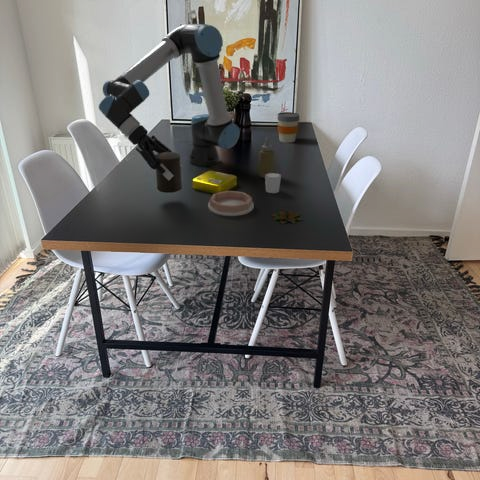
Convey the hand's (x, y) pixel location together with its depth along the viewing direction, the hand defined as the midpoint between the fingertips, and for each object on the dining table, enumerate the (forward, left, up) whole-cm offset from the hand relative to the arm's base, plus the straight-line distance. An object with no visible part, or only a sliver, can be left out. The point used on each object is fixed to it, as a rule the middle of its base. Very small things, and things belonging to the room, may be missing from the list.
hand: (176, 173), depth 179 cm
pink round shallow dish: (0, +22, -12) cm, 25 cm away
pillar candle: (0, -3, -7) cm, 7 cm away
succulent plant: (+5, +45, -13) cm, 47 cm away
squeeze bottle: (-38, +29, -12) cm, 50 cm away
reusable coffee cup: (-102, +30, -12) cm, 107 cm away
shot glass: (-21, +35, -12) cm, 43 cm away
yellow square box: (-20, +10, -12) cm, 26 cm away
